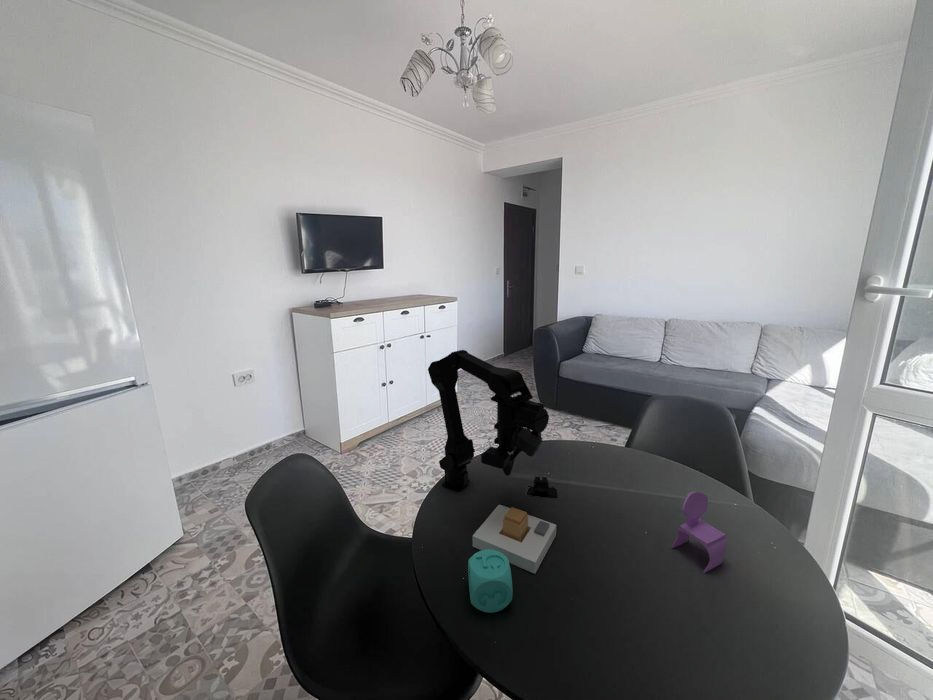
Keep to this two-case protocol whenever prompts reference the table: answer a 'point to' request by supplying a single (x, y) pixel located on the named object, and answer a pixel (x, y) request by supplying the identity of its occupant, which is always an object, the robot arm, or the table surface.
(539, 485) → the black angular piece
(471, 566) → the decorative dice
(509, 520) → the brown block
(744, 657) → the table surface
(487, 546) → the socket plate
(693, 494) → the toy chair
